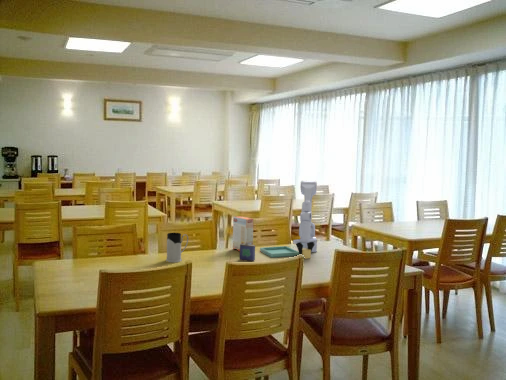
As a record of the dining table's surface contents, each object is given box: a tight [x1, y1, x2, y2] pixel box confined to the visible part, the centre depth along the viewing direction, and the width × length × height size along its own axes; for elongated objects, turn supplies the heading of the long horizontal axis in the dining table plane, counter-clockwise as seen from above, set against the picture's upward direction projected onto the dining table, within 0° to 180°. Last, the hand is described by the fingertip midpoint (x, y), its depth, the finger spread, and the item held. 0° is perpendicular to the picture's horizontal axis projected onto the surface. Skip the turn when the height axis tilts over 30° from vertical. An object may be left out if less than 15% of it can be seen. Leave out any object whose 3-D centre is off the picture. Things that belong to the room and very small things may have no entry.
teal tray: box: [259, 245, 299, 258], centre depth 279 cm, size 18×18×2 cm
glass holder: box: [165, 232, 189, 263], centre depth 257 cm, size 9×14×15 cm, turn 137°
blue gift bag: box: [239, 242, 256, 262], centre depth 259 cm, size 9×3×11 cm, turn 68°
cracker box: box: [232, 215, 254, 252], centre depth 284 cm, size 14×6×21 cm, turn 36°
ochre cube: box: [302, 248, 312, 260], centre depth 270 cm, size 5×5×5 cm
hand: (304, 255), depth 270 cm, fingers closed on ochre cube, 5 cm apart
